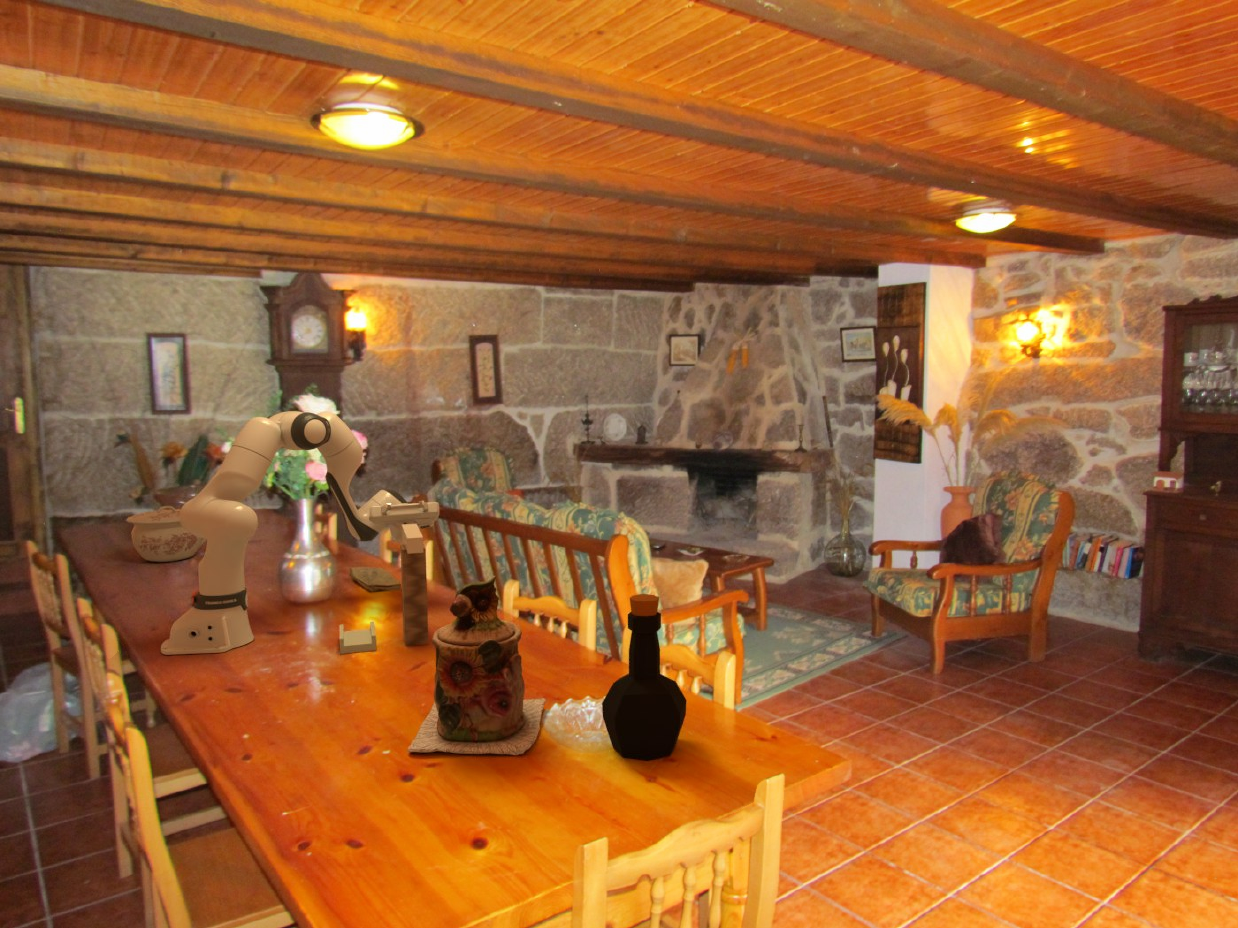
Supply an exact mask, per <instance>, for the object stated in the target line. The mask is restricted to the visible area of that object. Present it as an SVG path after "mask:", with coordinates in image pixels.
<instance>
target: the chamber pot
mask: <svg viewBox="0 0 1238 928" xmlns="http://www.w3.org/2000/svg"><path fill="white" fill-rule="evenodd" d="M181 509H182V508H175V507H174V506H172V505H163V506H160V507H159V508H158V510H151V511H146V512H141V513H136V514H134V515H132V516H128V517H127V518H126V519H125V522H127V523H129V524H132V525H133V528H132V530H131V532H130V535H131V541H132V544H133V547H134V549H135V550H136V551H137V553H138V554H139V555H140V556H141V558H143V559H144V560H145V561H148V562H152V563H159V564H161V563H172V562H180V561H183V560H186V559H188V558H191V557H192V556H194V555H195V554H196V553H197V551H198V550H199V549H201V547H202V546H203V544H204V543H205V542H207V539H206V538H202V537H197V536H195V535H193V534H191V533H190V532H188V531H187V530H185V529H184V528H183V527H182V525H181V523H180V518H179V515H180V511H181Z"/></svg>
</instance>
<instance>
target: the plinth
mask: <svg viewBox="0 0 1238 928" xmlns="http://www.w3.org/2000/svg"><path fill="white" fill-rule="evenodd" d="M426 550H427V549H426V546H425V544H424V543H423V553H411V554H407V551H406V548H405V545H404V544H400V568H401V569H400V570H401V571H400V572H401V573H400V574H401V595H402V596H401V599H402V625H403V626H402V627H403V628H402V629H403V630H402V631H403V633H402V634H403V642H404V645H405V647H410V646H421V645H429V643H430V642H429V619H428V618H429V617H428V616H429V615H428V584H427V554H426V553H427V551H426Z"/></svg>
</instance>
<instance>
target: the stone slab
mask: <svg viewBox="0 0 1238 928" xmlns="http://www.w3.org/2000/svg"><path fill="white" fill-rule="evenodd" d="M349 575H350V579H351V581H355V582H356V581H357V583H358V584H359V585H360V586H361V587H363V588H364V589H366V590H368V591H370V592H373V593H375V592H377V591H383V592H384V591H385V592H386V591H387V592H389V591H390V592H391V591H398V590H402V583H400V581H397V580H396V578H394V576H393V575H392V573H390V571H388V570H387V569H385V568H383V567H373V566H372V567H371V566H360V567H359V566H356V567H355V566H354V567H353V566H352V567H349Z"/></svg>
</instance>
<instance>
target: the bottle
mask: <svg viewBox="0 0 1238 928" xmlns="http://www.w3.org/2000/svg"><path fill="white" fill-rule="evenodd" d="M659 602H660V597H659V596H658V595H655V594H649V593H648V594H647V593H639V594H635V595H634V594H633V595H632V596H630V597H629V603H630V604H629V606H630V611H629V613H628V614H627V629H628V630H629V631H631V634H630V641H629V648H628V673H627V674H625V675H624V676H621V677H619V678H618V679H617V680H615V682H613V683H612V684H611V686H610V688H609V690H608V691H607V694H606V695H605V697H604V699H603V700H602V702H601V705H602V706H601V707H602V719H603V722H604V725H605V727H606V731H607V733H608V737H609V739H610V742H611V745H612V748H613V749H614V750H615V752H616V753H618V755H620V756H621V757H622V758H627V759H633V760H639V761H645V762H649V761H653V760H659V759H662V758H665V757H669V756H671V755H672V753H673V752H674V749H675V748H676V746H677V743H678V739H679V736H680V733H681V730H682V728H683V724H684V721H685V717H686V715H687V699H686V697H685V695H684V694H683V692H682V690H681V688H680V687H679V685H678V683H677V681H675V680H674V679H672V678H670V677H667V676H666V675H664V674H661V649H660V648H661V647H660V641H659V635H658V632H659V631H660V629H661V628H662V613H661V612H658V611H659V610H658V609H659Z"/></svg>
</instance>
